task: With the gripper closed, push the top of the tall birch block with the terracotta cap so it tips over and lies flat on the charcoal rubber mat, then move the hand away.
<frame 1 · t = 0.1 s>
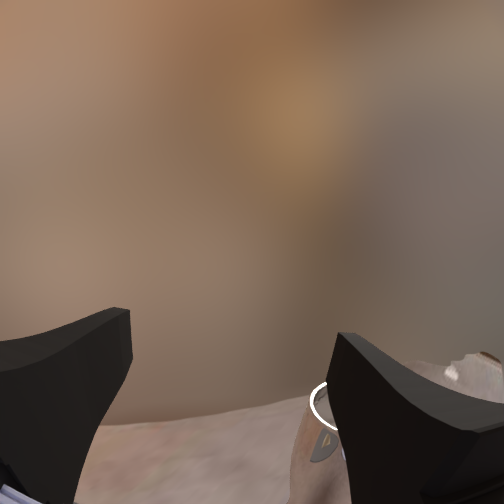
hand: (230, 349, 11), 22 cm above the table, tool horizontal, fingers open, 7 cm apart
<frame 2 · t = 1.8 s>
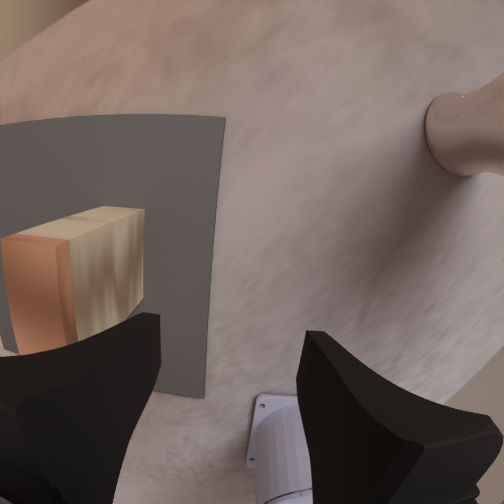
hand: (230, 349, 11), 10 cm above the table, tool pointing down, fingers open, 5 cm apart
birch block: (122, 252, 20), resting on rubber mat
beer glass: (456, 134, 18), on the table
rubber mat: (76, 258, 21), on the table
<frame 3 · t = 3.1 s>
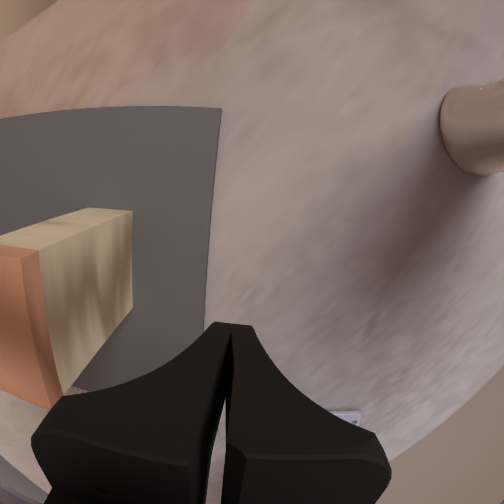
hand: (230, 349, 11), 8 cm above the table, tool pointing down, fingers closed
birch block: (109, 258, 18), resting on rubber mat
beer glass: (472, 129, 16), on the table
rubber mat: (61, 264, 19), on the table
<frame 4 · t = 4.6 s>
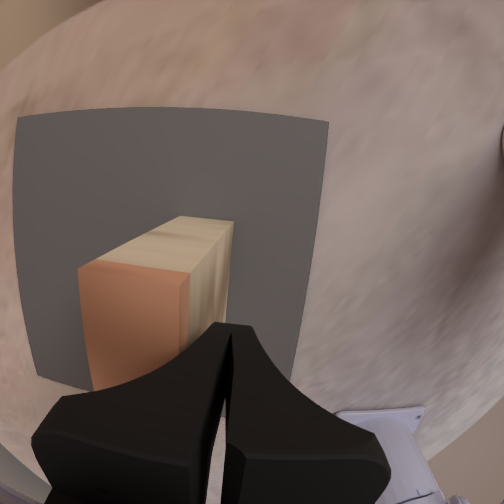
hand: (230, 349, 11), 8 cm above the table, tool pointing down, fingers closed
birch block: (203, 271, 18), resting on rubber mat
rubber mat: (139, 276, 19), on the table
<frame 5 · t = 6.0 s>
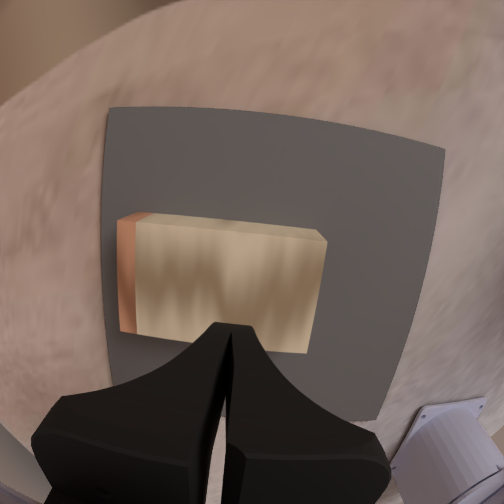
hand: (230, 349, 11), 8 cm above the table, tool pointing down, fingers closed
birch block: (312, 290, 17), point 2 cm above the table, tilted 90°, touching rubber mat
rubber mat: (263, 290, 19), on the table
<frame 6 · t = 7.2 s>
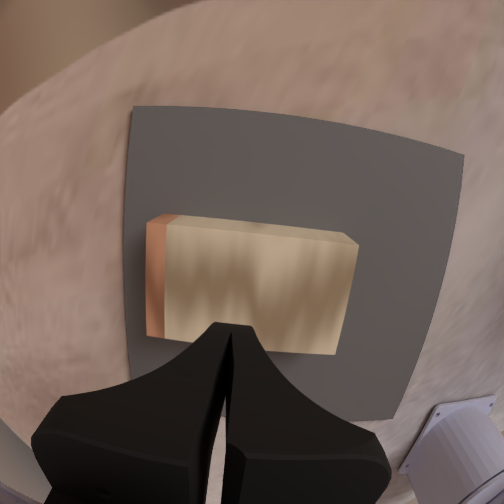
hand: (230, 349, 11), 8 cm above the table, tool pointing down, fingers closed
birch block: (340, 292, 17), point 2 cm above the table, tilted 90°, touching rubber mat
rubber mat: (290, 293, 19), on the table
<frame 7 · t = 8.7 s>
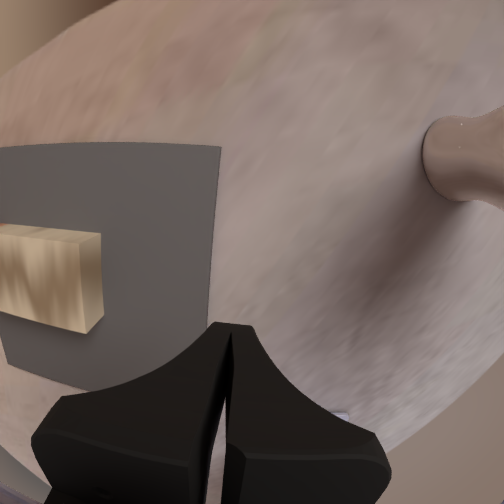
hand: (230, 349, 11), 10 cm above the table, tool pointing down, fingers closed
birch block: (92, 283, 19), point 2 cm above the table, tilted 90°, touching rubber mat
beer glass: (454, 158, 19), on the table
rubber mat: (76, 282, 21), on the table
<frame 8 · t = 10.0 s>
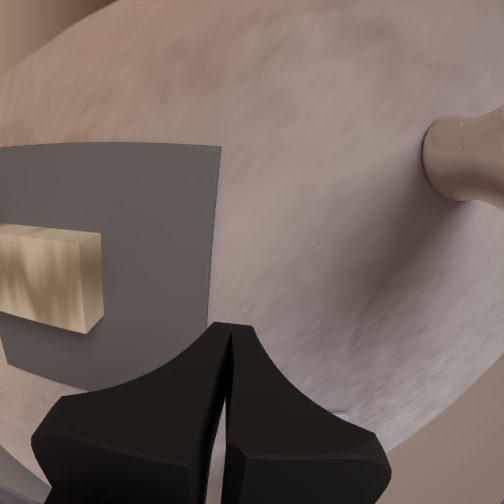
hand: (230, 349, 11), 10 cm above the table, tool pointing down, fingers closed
birch block: (92, 283, 19), point 2 cm above the table, tilted 90°, touching rubber mat
beer glass: (454, 158, 19), on the table
rubber mat: (76, 282, 21), on the table
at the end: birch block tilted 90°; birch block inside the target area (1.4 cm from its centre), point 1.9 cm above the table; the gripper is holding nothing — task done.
